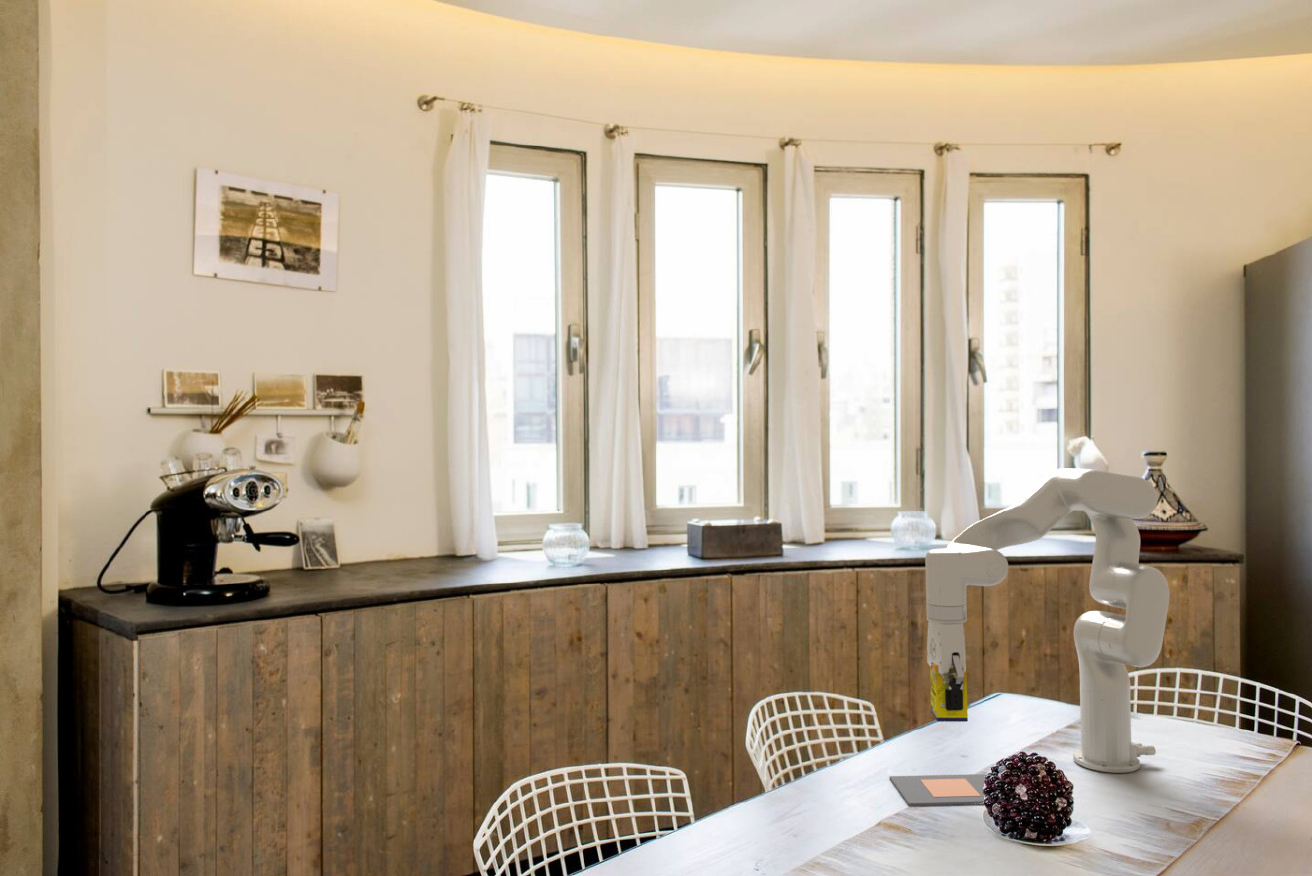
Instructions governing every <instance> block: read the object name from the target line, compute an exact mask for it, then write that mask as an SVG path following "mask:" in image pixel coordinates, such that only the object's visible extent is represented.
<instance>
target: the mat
mask: <svg viewBox="0 0 1312 876" xmlns="http://www.w3.org/2000/svg"><path fill="white" fill-rule="evenodd" d="M985 774H986V773H983V774H982V773H981V774H980V773H979V774H978V773H976V774H975V773H974V774H935V775H934V774H933V775H893V776H892V775H891V776H890V775H889V780H890V781H891V783H892V784H893V786H894V787H895V788H896V790H897V791H898V793H899V794H900V796H901V797H902V798H903V800H904V801H905V803H906V805H908V807H910V806H912V807H917V806H920V807H921V806H922V807H923V806H948V805H949V806H951V805H952V806H954V805H953V804H966V805H980V804H979V803H983V802H984V795H983V787H984V776H985ZM972 803H973V804H972ZM974 803H976V804H974ZM977 803H978V804H977ZM947 804H948V805H947Z"/></svg>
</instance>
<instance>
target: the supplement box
mask: <svg viewBox="0 0 1312 876" xmlns="http://www.w3.org/2000/svg"><path fill="white" fill-rule="evenodd" d="M967 667H968V666H966V670H965V673H964V678H963V710H952V711H948V710H947V709H946V705H945V689H947V684H946V677H945V673H944V675H941V674H939V673H938V669H937V665H936V664H935V663H933V662H931V667H930V666H929V674H930V675H929V676H930V677H929V678H930V680H929V681H930V684H929V685H930V712H931V714H932V715H933V716H934V718H935V720H936V721H937V722H941V723H943V722H945V723H952V722H953V723H954V722H956V723H957V722H963V723H965V722H967V723H968V722H969V721H968V719H969V717H968V716H969V715H968V688H967V687H968V680H967V679H968V678H967V677H968V674H967V672H968V671H967ZM962 669H963V668H962ZM948 672H949V673H955V672H954V669H953V670H949V671H948ZM952 678H955V677H950V680H951V681H952Z"/></svg>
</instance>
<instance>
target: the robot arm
mask: <svg viewBox="0 0 1312 876" xmlns="http://www.w3.org/2000/svg"><path fill="white" fill-rule="evenodd" d="M1157 504H1158V493H1157V491H1156V488H1155V487H1154V486H1153V484H1152V483H1151V482H1150V481H1148V480H1147V479H1144V478H1143V477H1139V476H1135V475H1134V476H1133V475H1127V474H1121V473H1114V472H1110V471H1103V470H1097V469H1092V468H1091V469H1087V468H1058V469H1054V470H1052V471H1050V472H1049V473H1048V474H1046V475H1045V476H1044V477H1043V478H1041V479H1040V480H1039V481H1038V482H1037V483H1036V484H1035V485H1033V486H1032V488H1030V489H1029V490H1028V491H1027V492H1025V494H1023V495H1022V496H1021V497H1020V498H1019V499H1018V500H1016V501H1015V502H1014V503H1013V504H1011V505H1010V506H1008V507H1006V508H1005V509H1002V510H1000V511H998V512H995V513H994V514H992V515H990V516H987V517H985V518H983V519H980V520H978V521H976V522H975V523H973V524H971V525H970V526H968V527H967V528H965V529H964V530H963V531H961V532H960V533H959V534H958V535H956V537H954V539H952V540H951V541H950V542H949V544H947V545H946V547H945V548H934V549H930V550H928V551H927V552H926V555H925V558H924V560H925V561H924V562H925V590H926V591H925V593H926V594H925V595H926V596H925V598H926V599H925V601H926V604H925V605H926V606H925V607H926V621H928V623H927V635H926V636H927V638H926V639H927V640H926V641H927V642H926V662H927V664H928V666H929V668H930V667H931V662H933V663H935V664H936V665H937V669H938V673H939V674H941V675H944V673H945V677H946V684H947V689H945V705H946V709H947V710H948V711H952V710H963V678H964V673H965V670H966V667H967V658H966V655H967V654H966V638H965V628H964V623H966V622H967V621H968V618H967V617H968V616H967V615H968V613H967V586H979V587H980V586H981V587H991V586H995V585H998V584H1001V582H1002V581H1004V579H1005V578H1006V577H1007V575H1008V572H1009V563H1008V560H1007V558H1006V556H1005V555H1003V553H1002V552H1001V551H999V550H1000V549H1004V548H1008V547H1012V546H1019V545H1023V544H1028V543H1032V542H1034V541H1038V540H1040V539H1043V538H1044V537H1045V536H1046V534H1047V533H1049V532H1050V531H1051V530H1052V529H1053V528H1054V527H1056V526H1057V524H1059V523H1060V522H1061V521H1062V520H1063V519H1065V518H1066V516H1067V515H1069V514H1070V513H1071V512H1074V511H1079V512H1084V513H1085V514H1086V515H1087V516H1088V518H1089V520H1090V521H1091V523H1092V526H1093V528H1094V532H1095V545H1094V551H1093V557H1092V564H1091V570H1090V577H1089V582H1088V583H1089V587H1088V588H1089V594H1090V596H1091V598H1093V600H1094V601H1096V602H1098V603H1100V604H1103V605H1105V606H1109V607H1113V608H1118V609H1123V610H1125V615H1123V614H1119V613H1114V612H1110V611H1109V612H1108V611H1104V610H1090V611H1086V612H1085V613H1082V614H1081V615H1079V616H1078V618H1077V619H1076V621H1075V623H1074V626H1073V641H1074V645H1075V649H1076V653H1077V654H1076V655H1077V659H1078V667H1079V669H1078V670H1079V700H1080V701H1079V703H1080V705H1079V707H1080V709H1079V711H1080V717H1079V718H1080V749H1077V750H1075V751H1074V752H1073V754H1072V755H1073V756H1072V757H1073V761H1074V762H1075V763H1076V764H1078V765H1080V766H1082V767H1084V768H1087V769H1090V770H1093V771H1098V772H1104V773H1111V774H1113V773H1114V774H1123V773H1126V774H1127V773H1132V772H1135V771H1138V770H1139V769H1140V767H1141V761H1140V759H1139V758H1140V757H1141V756H1155V755H1156V754H1157V753H1156V748H1155V746H1154V745H1143V744H1142V743H1141V742H1139V743H1137V742H1136V743H1135V742H1133V741H1132V722H1131V721H1132V720H1131V719H1132V714H1131V681H1130V676H1129V671H1128V669H1127V666H1131V667H1136V668H1144V667H1149V666H1151V665H1152V664H1153V663H1155V662H1156V660H1157V659H1158V657H1159V655H1160V653H1161V650H1162V647H1163V642H1164V636H1165V629H1166V623H1167V617H1168V612H1169V611H1168V610H1169V604H1170V587H1169V583H1168V580H1167V578H1166V576H1165V574H1164V573H1162V571H1161V570H1159V569H1158V568H1155V567H1153V566H1151V565H1146V564H1139V561H1140V560H1139V559H1140V553H1141V551H1140V550H1141V535H1140V532H1139V529H1138V526H1137V524H1136V523H1135V521H1134V520H1140V519H1145V518H1146V517H1148V516H1150V515H1151V514H1152V513H1153V512H1154V510H1155V509H1156V508H1157V507H1156V506H1157ZM1126 665H1127V666H1126ZM962 668H963V669H962ZM953 669H954V672H955V673H949V672H948V671H949V670H953ZM950 677H955V678H952V681H951V680H950Z"/></svg>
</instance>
